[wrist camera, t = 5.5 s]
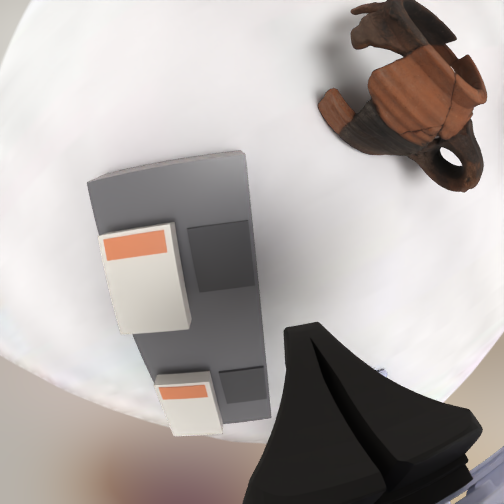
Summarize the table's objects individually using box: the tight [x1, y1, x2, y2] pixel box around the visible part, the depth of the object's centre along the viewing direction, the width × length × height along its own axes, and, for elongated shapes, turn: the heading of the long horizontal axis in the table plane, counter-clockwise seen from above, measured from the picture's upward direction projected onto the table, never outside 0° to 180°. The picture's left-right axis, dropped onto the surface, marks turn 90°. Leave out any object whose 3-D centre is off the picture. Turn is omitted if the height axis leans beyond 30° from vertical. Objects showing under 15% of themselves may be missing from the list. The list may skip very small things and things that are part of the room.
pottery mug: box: [318, 0, 487, 192], centre depth 13 cm, size 12×9×8 cm
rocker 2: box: [154, 371, 223, 436], centre depth 17 cm, size 5×4×2 cm
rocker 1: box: [98, 222, 192, 335], centre depth 13 cm, size 5×4×2 cm
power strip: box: [87, 150, 271, 424], centre depth 18 cm, size 20×8×3 cm, turn 6°
